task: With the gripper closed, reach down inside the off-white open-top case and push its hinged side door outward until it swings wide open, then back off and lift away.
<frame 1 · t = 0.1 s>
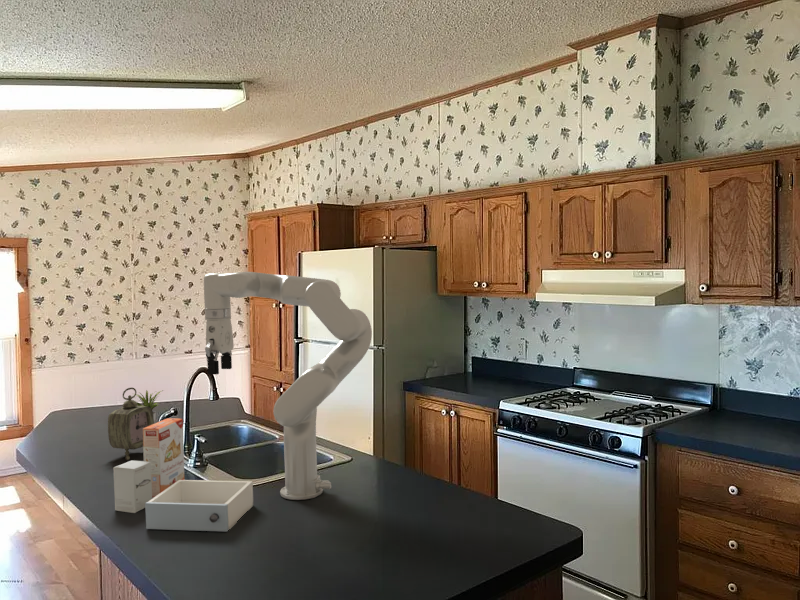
hand: (220, 371, 203), 37 cm above the counter, tool pointing down, fingers open, 9 cm apart
tabletop clock: (131, 456, 247), on the counter
house plant: (149, 426, 292), on the counter
cracker box: (165, 490, 208), on the counter
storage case: (203, 516, 185), on the counter
side door: (185, 517, 175), point 4 cm above the counter, hinge at 0.0°
supplement box: (134, 508, 194), on the counter
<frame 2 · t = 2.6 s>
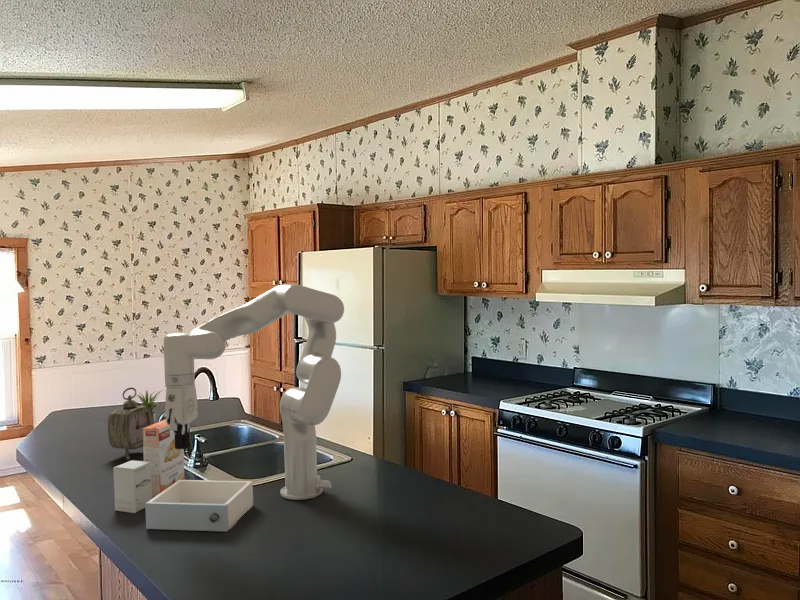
hand: (182, 448, 181), 20 cm above the counter, tool pointing down, fingers closed
nothing on the counter moved.
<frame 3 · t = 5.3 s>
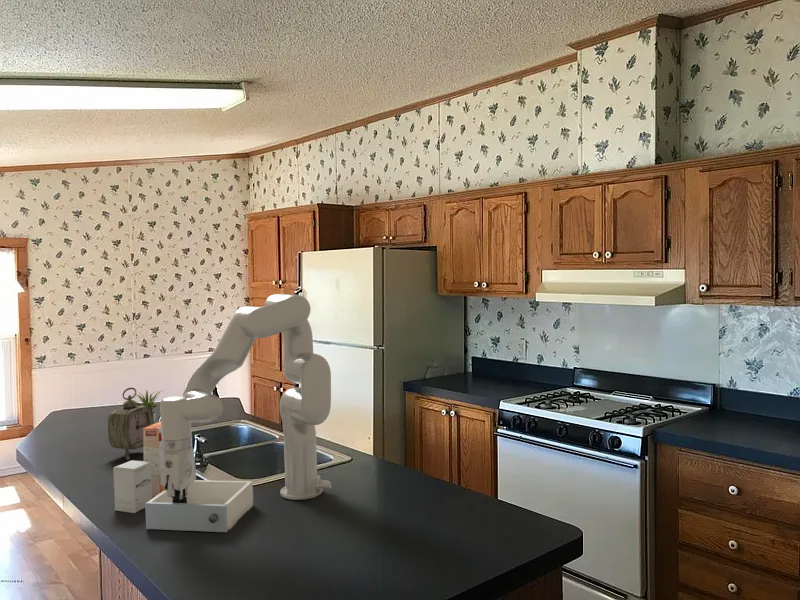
hand: (180, 512, 179), 4 cm above the counter, tool pointing down, fingers closed
side door: (185, 517, 175), point 4 cm above the counter, hinge at 1.2°, touching gripper
everything else where it was.
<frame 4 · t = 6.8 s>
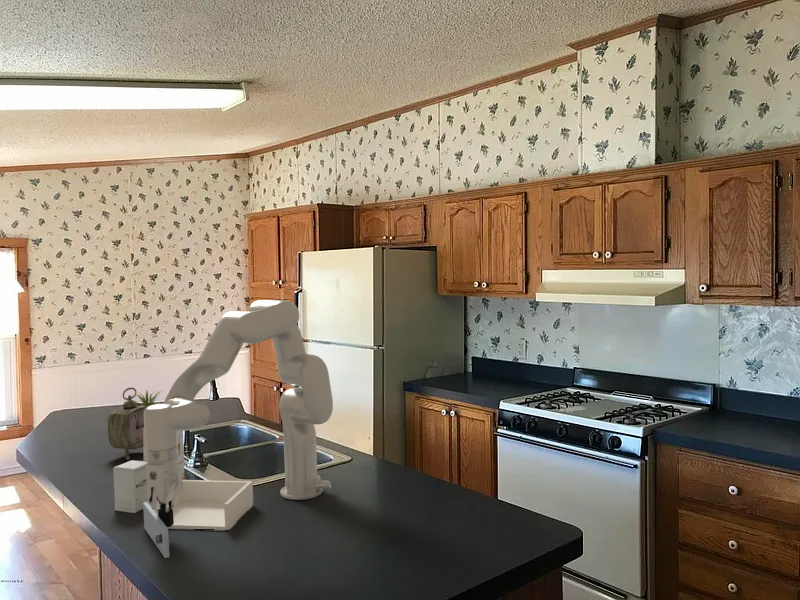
hand: (166, 525, 171), 3 cm above the counter, tool pointing down, fingers closed
side door: (153, 529, 168), point 4 cm above the counter, hinge at 49.6°, touching gripper
everything else where it was.
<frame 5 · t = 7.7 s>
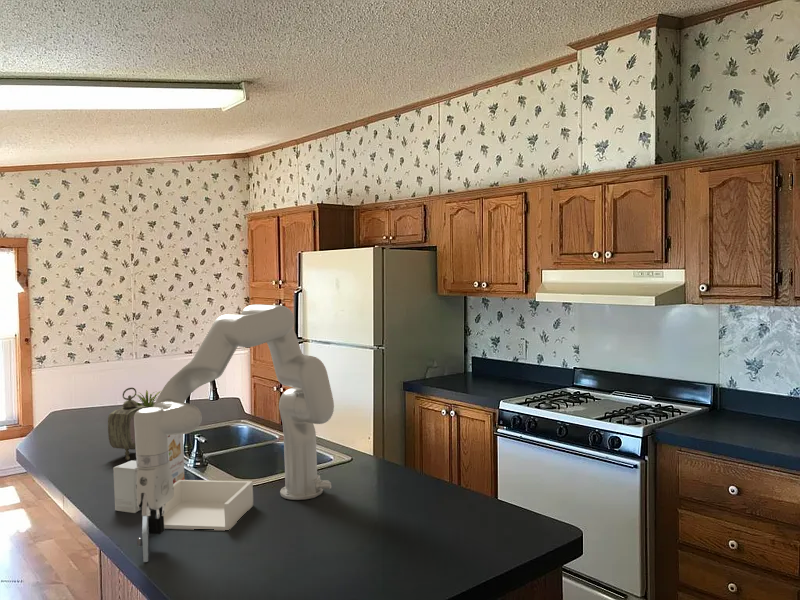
hand: (156, 532, 166), 4 cm above the counter, tool pointing down, fingers closed
side door: (142, 530, 167), point 4 cm above the counter, hinge at 61.9°
everything else where it was.
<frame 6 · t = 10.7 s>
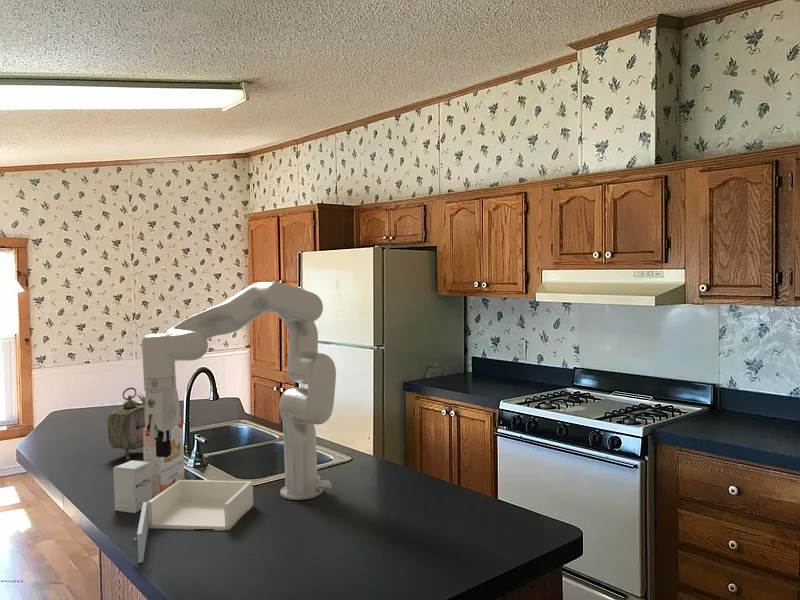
hand: (163, 455, 170), 21 cm above the counter, tool pointing down, fingers closed
side door: (140, 530, 167), point 4 cm above the counter, hinge at 64.7°
everything else where it was.
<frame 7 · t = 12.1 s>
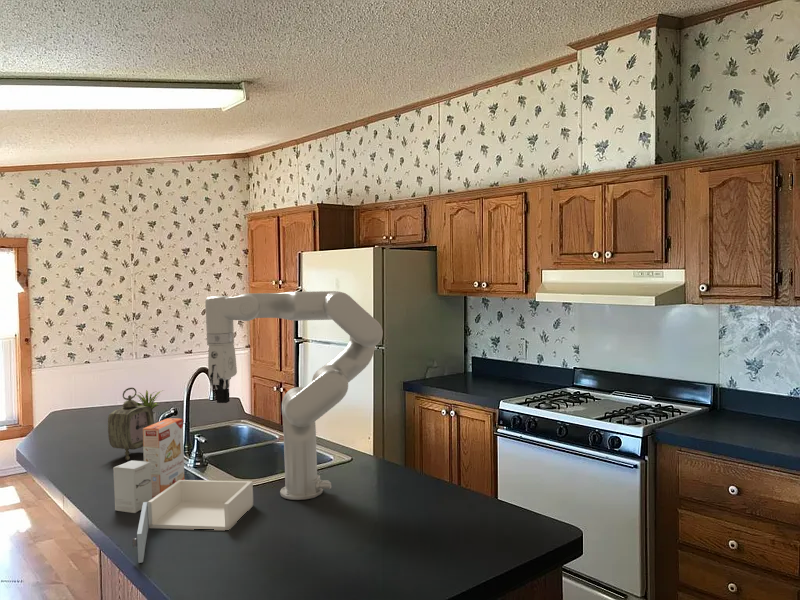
hand: (223, 402, 195), 29 cm above the counter, tool pointing down, fingers closed
nothing on the counter moved.
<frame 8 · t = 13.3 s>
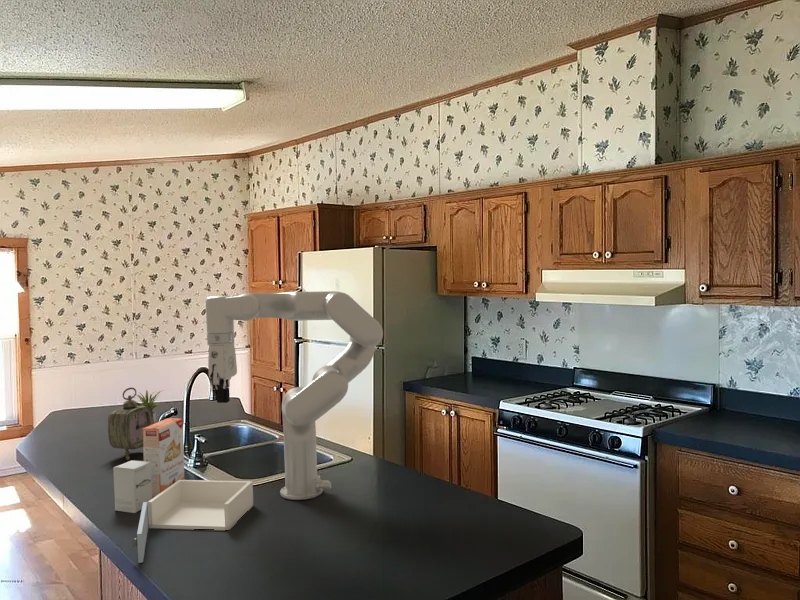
hand: (223, 402, 195), 29 cm above the counter, tool pointing down, fingers closed
nothing on the counter moved.
at the end: side door at +65° (first picture: +0°) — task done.
